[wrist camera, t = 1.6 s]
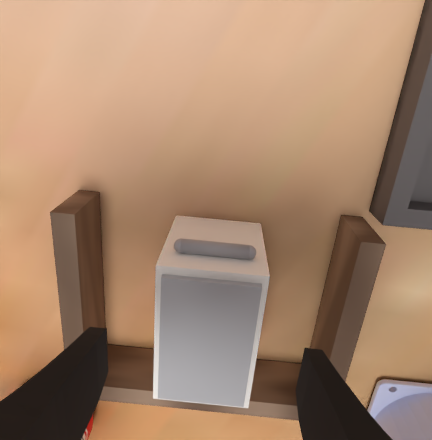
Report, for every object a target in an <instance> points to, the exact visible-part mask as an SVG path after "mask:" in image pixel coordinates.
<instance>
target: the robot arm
mask: <svg viewBox="0 0 432 440" xmlns="http://www.w3.org/2000/svg"><path fill="white" fill-rule="evenodd" d="M107 374H108V351H107V328H97V327H89V328H88V329H86V330H85V331H84V332H83V333H82V334H81V335H80V336H79V337H78V338H77V339H76V340H75V341H74V342H72V343H71V344H70V345H69V346H68V347H67V348H66V349H65V350H64V351H63V352H62V353H60V354H59V355H58V356H57V357H56V358H55V359H54V360H52V361H51V362H50V363H49V364H48V365H47V366H46V367H44V368H43V369H42V370H41V371H40V372H38V373H37V374H36V375H35V376H33V377H32V378H31V379H30V380H28V381H27V382H26V383H25V384H23V385H22V386H21V387H20V388H18V389H17V390H16V391H14V392H13V393H11V394H10V395H9V396H7V397H6V398H5V399H3V400H2V401H0V440H81V439H82V437H83V435H84V432H85V430H86V428H87V426H88V424H89V422H90V419H91V417H92V415H93V413H94V410H95V408H96V406H97V404H98V401H99V399H100V396H101V393H102V390H103V387H104V384H105V381H106V377H107ZM391 387H392V388H391ZM295 391H296V401H297V410H298V418H299V423H300V428H301V433H302V437H303V440H432V384H426V383H416V382H406V381H396V380H386V379H382V380H380V381H378V382H377V384H376V387H375V390H374V393H373V395H372V398H371V401H370V404H369V407H368V410H366V408H365V407H364V406H363V405H362V404H361V402H360V401H359V400H358V398H357V397H356V396H355V394H354V393H353V392H352V391H351V389H350V388H349V387H348V385H347V384H346V383H345V381H344V380H343V378H342V377H341V376H340V374H339V373H338V371H337V370H336V369H335V367H334V366H333V364H332V363H331V361H330V360H329V359H328V357H327V356H326V354H325V353H324V352H323V350H321V349H311V348H305V350H304V355H303V359H302V363H301V368H300V372H299V377H298V381H297V385H296V390H295Z"/></svg>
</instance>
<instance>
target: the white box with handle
mask: <svg viewBox="0 0 432 440" xmlns="http://www.w3.org/2000/svg"><path fill="white" fill-rule="evenodd" d="M269 279H270V274H269V268H268V262H267V257H266V251H265V245H264V239H263V233H262V227H261V223H252V222H242V221H231V220H221V219H210V218H200V217H189V216H179V215H176V217H175V219H174V222H173V224H172V227H171V229H170V232H169V234H168V236H167V239H166V241H165V244H164V246H163V249H162V251H161V254H160V256H159V259H158V261H157V264H156V277H155V325H154V373H153V399H162V400H172V401H182V402H192V403H202V404H211V405H221V406H231V407H241V408H248V407H249V401H250V395H251V389H252V383H253V376H254V370H255V364H256V358H257V352H258V346H259V340H260V334H261V328H262V322H263V315H264V309H265V303H266V297H267V291H268V285H269Z"/></svg>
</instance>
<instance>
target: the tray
mask: <svg viewBox="0 0 432 440" xmlns="http://www.w3.org/2000/svg"><path fill="white" fill-rule="evenodd" d="M369 211H370V212H371V213H372V214H373V216H374V217H375V218H376V219H377V220H378V221H379V222H380V223H381V224H382V225H387V226H398V227H408V228H419V229H429V230H432V0H425V4H424V8H423V12H422V15H421V19H420V23H419V27H418V30H417V34H416V38H415V42H414V45H413V49H412V53H411V57H410V60H409V64H408V68H407V72H406V75H405V79H404V83H403V87H402V90H401V94H400V98H399V102H398V105H397V109H396V113H395V117H394V120H393V124H392V128H391V132H390V135H389V139H388V143H387V147H386V150H385V154H384V158H383V162H382V165H381V169H380V173H379V177H378V180H377V184H376V188H375V192H374V195H373V199H372V203H371V207H370V210H369Z"/></svg>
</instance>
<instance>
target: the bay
mask: <svg viewBox="0 0 432 440" xmlns="http://www.w3.org/2000/svg"><path fill="white" fill-rule="evenodd" d="M50 216H51V226H52V235H53V245H54V255H55V264H56V274H57V284H58V294H59V303H60V313H61V323H62V332H63V342H64V350H65V349H66V348H67V347H68V346H69V345H70V344H71V343H72V342H74V341H75V340H76V339H77V338H78V337H79V336H80V335H81V334H82V333H83V332H84V331H85V330H86V329H88V328H89V327H97V328H105V307H104V284H103V262H102V240H101V218H100V196H99V192H92V191H81V190H78V191H77V192H76V193H75V194H73V195H72V196H71V197H69V198H68V199H67V200H65V201H64V202H63V203H62V204H60V205H59V206H58V207H56V208H55V209H54V210H52V211H51V212H50ZM385 246H386V244H385V243H384V241H383V240H382V239H381V238H380V237H379V236H378V235H377V233H376V232H375V231H374V230H373V229H372V228H371V226H370V225H369V224H368V223H367V222H366V221H365V220H364V218H363V217H356V216H345V215H341V219H340V223H339V227H338V232H337V236H336V240H335V244H334V249H333V253H332V257H331V261H330V266H329V270H328V274H327V278H326V283H325V287H324V291H323V295H322V300H321V304H320V308H319V312H318V317H317V321H316V325H315V329H314V334H313V338H312V342H311V346H310V348H311V349H321V350H323V352H324V353H325V354H326V356H327V357H328V359H329V360H330V361H331V363H332V364H333V366H334V367H335V369H336V370H337V371H338V373H339V374H340V376H341V377H342V378H343V380H344V381H346V377H347V374H348V371H349V367H350V364H351V361H352V357H353V354H354V350H355V347H356V344H357V340H358V337H359V334H360V330H361V327H362V324H363V320H364V317H365V313H366V310H367V307H368V303H369V300H370V297H371V293H372V290H373V287H374V283H375V280H376V277H377V273H378V270H379V266H380V263H381V260H382V256H383V253H384V250H385ZM107 351H108V374H107V377H106V381H105V384H104V387H103V390H102V393H101V396H100V399H99V400H103V401H113V402H123V403H133V404H142V405H152V406H162V407H172V408H182V409H191V410H201V411H211V412H221V413H231V414H240V415H250V416H260V417H270V418H280V419H290V420H299V418H298V410H297V401H296V391H295V390H296V385H297V381H298V377H299V372H300V368H301V364H298V363H288V362H278V361H268V360H258V359H256V364H255V370H254V376H253V383H252V389H251V395H250V401H249V407H248V408H241V407H231V406H221V405H211V404H202V403H192V402H182V401H172V400H162V399H153V373H154V349H148V348H138V347H128V346H118V345H108V344H107Z"/></svg>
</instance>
